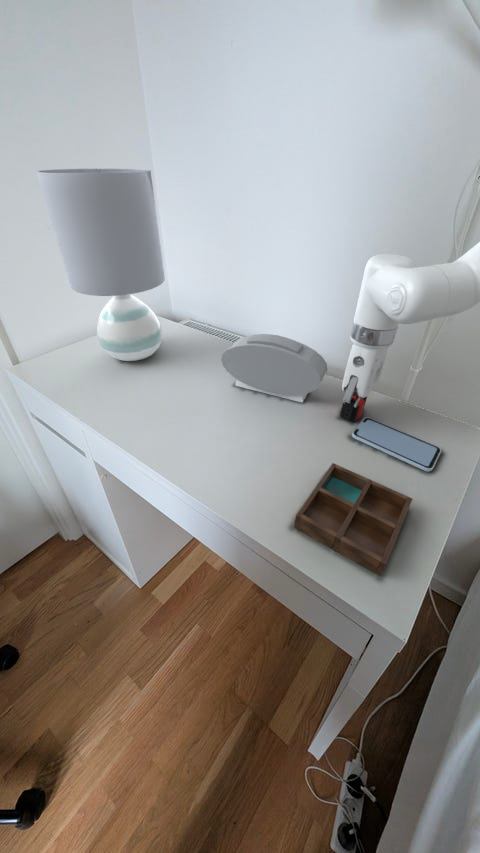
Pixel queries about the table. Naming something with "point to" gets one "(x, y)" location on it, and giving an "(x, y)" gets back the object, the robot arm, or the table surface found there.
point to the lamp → (110, 249)
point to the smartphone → (397, 443)
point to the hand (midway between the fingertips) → (351, 412)
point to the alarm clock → (275, 366)
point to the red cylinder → (360, 406)
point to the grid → (354, 517)
